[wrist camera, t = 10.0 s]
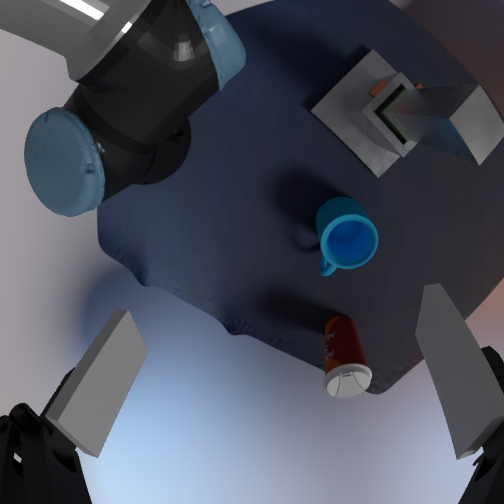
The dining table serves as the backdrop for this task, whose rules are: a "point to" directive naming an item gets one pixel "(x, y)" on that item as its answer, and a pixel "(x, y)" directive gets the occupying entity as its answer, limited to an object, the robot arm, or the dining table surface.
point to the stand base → (365, 112)
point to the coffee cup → (344, 359)
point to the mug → (344, 235)
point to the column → (445, 119)
